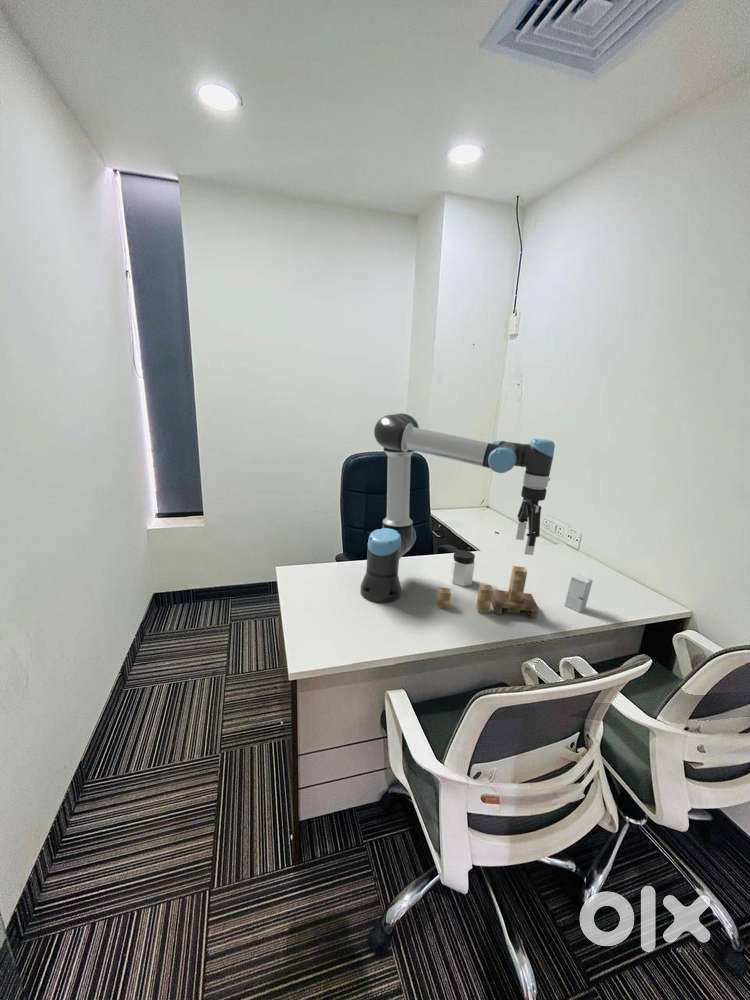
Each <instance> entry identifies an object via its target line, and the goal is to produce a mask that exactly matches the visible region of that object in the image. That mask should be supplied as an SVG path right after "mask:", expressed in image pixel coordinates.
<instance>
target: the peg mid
mask: <svg viewBox="0 0 750 1000" xmlns="http://www.w3.org/2000/svg"><path fill="white" fill-rule="evenodd" d="M493 590H494V589H493V587H492V585H490V584H482V583H479V588H478V593H477V598H476V599H477V600H476V601H477V602H476V607H475V608H476V610H477V611H476V612H477V613H480V614H487V615H489V614H490V610H491V606H492V603H491V600H492V594H493Z"/></svg>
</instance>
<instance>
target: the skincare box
mask: <svg viewBox="0 0 750 1000" xmlns="http://www.w3.org/2000/svg"><path fill="white" fill-rule="evenodd" d="M592 585H593V580H592V579H590V578H589V577H586V576H584V575H581V574H579V573H576V574H574V575H572V576H571V578H570V581H569V586H568V589H567V592H566V593H567V594H566V596H565V601H564V606H565V607H567V608H569V609H571V610H573V611H575V612H577V613H581V612H583V611H585V610H586V607H587V603H588V601H589V600H588V599H589V597H590V592H591V588H592Z"/></svg>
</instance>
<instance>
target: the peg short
mask: <svg viewBox="0 0 750 1000" xmlns="http://www.w3.org/2000/svg"><path fill="white" fill-rule="evenodd" d="M451 590H452V589H451V588H448V587H438V593H437V602H436V604H437V609H444V610H445V609H447V610H449V609H450V604H451V598H452V597H451V596H452V592H451Z"/></svg>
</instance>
